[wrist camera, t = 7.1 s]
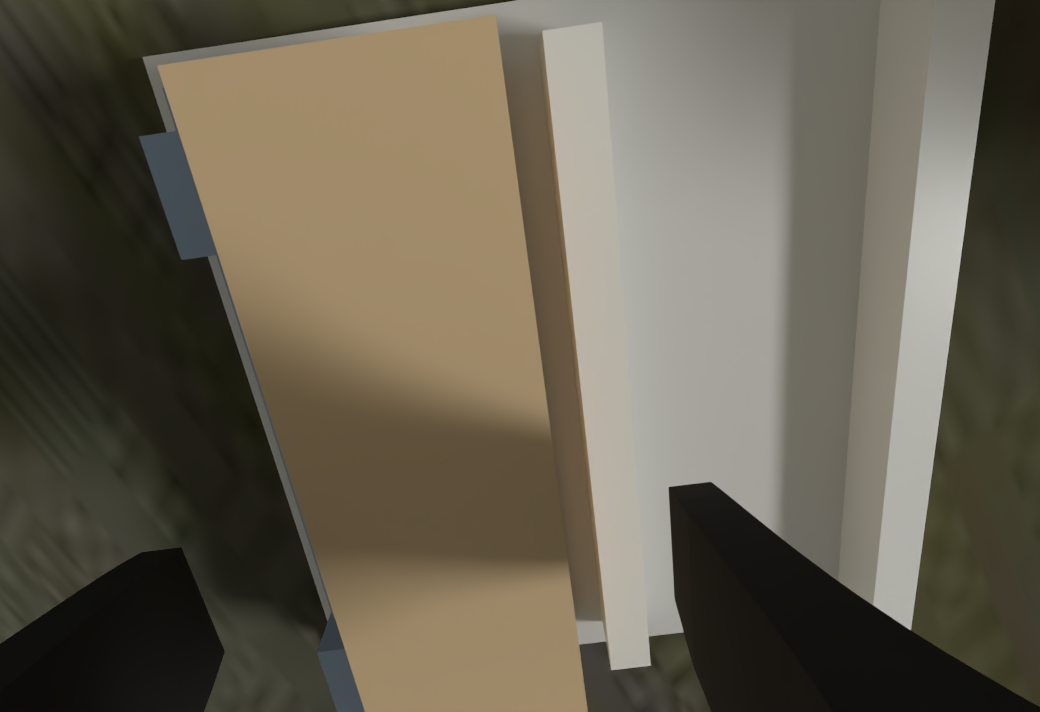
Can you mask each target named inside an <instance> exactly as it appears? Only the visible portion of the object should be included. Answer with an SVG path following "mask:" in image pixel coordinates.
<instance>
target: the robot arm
mask: <svg viewBox="0 0 1040 712" xmlns="http://www.w3.org/2000/svg"><path fill="white" fill-rule="evenodd" d="M669 505H670V524H671V542H672V560H673V579H674V597H675V602H676V606H677V609H678V613H679V616H680V620H681V624H682V627H683V631H684V635H685V638H686V641H687V645H688V648H689V652H690V655H691V659H692V662H693V666H694V669H695V671H696V674H697V676H698V679H699V681H700V684H701V686H702V689H703V691H704V694H705V696H706V699H707V701H708V704H709V706H710V709H711V711H712V712H1040V707H1039V706H1037V705H1035V704H1033V703H1031V702H1030V701H1028V700H1026V699H1024V698H1022V697H1021V696H1019V695H1017V694H1015V693H1014V692H1012V691H1010V690H1009V689H1007V688H1005V687H1003V686H1002V685H1000V684H998V683H997V682H995V681H993V680H992V679H990V678H988V677H986V676H985V675H983V674H981V673H980V672H978V671H976V670H975V669H973V668H971V667H970V666H968V665H966V664H964V663H963V662H961V661H959V660H958V659H956V658H954V657H953V656H951V655H949V654H947V653H946V652H944V651H942V650H941V649H939V648H938V647H936V646H935V645H933V644H931V643H930V642H928V641H927V640H925V639H923V638H922V637H920V636H919V635H917V634H915V633H914V632H912V631H911V630H909V629H908V628H906V627H905V626H903V625H902V624H900V623H899V622H897V621H896V620H894V619H893V618H891V617H890V616H888V615H887V614H885V613H884V612H882V611H881V610H879V609H878V608H876V607H875V606H873V605H872V604H870V603H869V602H867V601H866V600H864V599H863V598H862V597H860V596H859V595H857V594H856V593H854V592H853V591H851V590H850V589H849V588H847V587H846V586H844V585H843V584H842V583H840V582H839V581H837V580H836V579H835V578H833V577H832V576H830V575H829V574H828V573H826V572H825V571H824V570H822V569H821V568H820V567H818V566H817V565H816V564H814V563H813V562H812V561H810V560H809V559H808V558H806V557H805V556H804V555H802V554H801V553H800V552H798V551H797V550H796V549H795V548H793V547H792V546H791V545H789V544H788V543H787V542H786V541H784V540H783V539H782V538H780V537H779V536H778V535H777V534H775V533H774V532H773V531H772V530H770V529H769V528H768V527H767V526H765V525H764V524H763V523H762V522H760V521H759V520H758V519H757V518H755V517H754V516H753V515H752V514H751V513H749V512H748V511H747V510H746V509H744V508H743V507H742V506H741V505H739V504H738V503H737V502H736V501H735V500H733V499H732V498H731V497H730V496H728V495H727V494H726V493H725V492H723V491H722V490H721V489H720V488H718V487H717V486H716V485H715V484H713V483H712V482H705V483H697V484H689V485H681V486H673V487H669ZM223 655H224V649H223V647H222V644H221V642H220V640H219V637H218V635H217V632H216V630H215V627H214V625H213V623H212V620H211V618H210V615H209V613H208V611H207V608H206V606H205V603H204V601H203V598H202V596H201V594H200V591H199V589H198V586H197V584H196V582H195V579H194V577H193V574H192V572H191V569H190V567H189V565H188V562H187V560H186V557H185V555H184V553H183V550H182V548H173V549H165V550H157V551H149V552H141V553H140V554H138V555H136V556H134V557H133V558H131V559H129V560H127V561H125V562H124V563H122V564H120V565H119V566H117V567H115V568H114V569H112V570H110V571H109V572H107V573H106V574H104V575H103V576H101V577H99V578H98V579H96V580H95V581H93V582H92V583H90V584H89V585H87V586H86V587H84V588H83V589H81V590H80V591H78V592H77V593H75V594H74V595H72V596H71V597H69V598H68V599H66V600H65V601H63V602H62V603H60V604H59V605H57V606H56V607H54V608H53V609H51V610H50V611H48V612H47V613H45V614H44V615H42V616H41V617H39V618H38V619H36V620H35V621H34V622H32V623H31V624H29V625H28V626H26V627H25V628H23V629H22V630H20V631H19V632H17V633H16V634H14V635H13V636H11V637H10V638H8V639H7V640H5V641H4V642H2V643H1V644H0V712H204V710H205V707H206V704H207V702H208V699H209V696H210V694H211V691H212V688H213V685H214V682H215V679H216V676H217V673H218V670H219V667H220V664H221V661H222V658H223Z"/></svg>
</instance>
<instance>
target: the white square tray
mask: <svg viewBox="0 0 1040 712" xmlns="http://www.w3.org/2000/svg"><path fill="white" fill-rule="evenodd" d="M994 6H995V0H516V1H510V2H503V3H496V4H490V5H483V6H477V7H470V8H463V9H457V10H450V11H444V12H437V13H430V14H424V15H417V16H411V17H404V18H397V19H391V20H384V21H378V22H371V23H365V24H358V25H351V26H345V27H338V28H332V29H325V30H318V31H312V32H305V33H299V34H292V35H285V36H279V37H272V38H266V39H259V40H252V41H246V42H239V43H233V44H226V45H219V46H213V47H206V48H200V49H193V50H186V51H180V52H173V53H167V54H160V55H153V56H147V57H142V58H143V61H144V64H145V67H146V70H147V73H148V76H149V79H150V82H151V85H152V88H153V91H154V94H155V97H156V100H157V104H158V107H159V110H160V113H161V116H162V119H163V122H164V125H165V128H166V131H167V132H166V133H159V134H152V135H146V136H139V139H140V142H141V145H142V148H143V150H144V153H145V156H146V159H147V162H148V165H149V168H150V171H151V174H152V177H153V179H154V182H155V185H156V188H157V191H158V194H159V197H160V200H161V203H162V206H163V208H164V211H165V214H166V217H167V220H168V223H169V226H170V229H171V232H172V234H173V237H174V240H175V243H176V246H177V249H178V252H179V255H180V258H181V260H186V259H193V258H200V257H207V256H208V259H209V262H210V265H211V268H212V271H213V274H214V277H215V280H216V283H217V286H218V289H219V292H220V296H221V299H222V302H223V305H224V308H225V311H226V314H227V317H228V320H229V323H230V326H231V329H232V332H233V335H234V338H235V341H236V344H237V347H238V350H239V353H240V356H241V359H242V363H243V366H244V369H245V372H246V375H247V378H248V381H249V384H250V387H251V390H252V393H253V396H254V399H255V402H256V405H257V408H258V411H259V414H260V417H261V420H262V423H263V427H264V430H265V433H266V436H267V439H268V442H269V445H270V448H271V451H272V454H273V457H274V460H275V463H276V466H277V469H278V472H279V475H280V478H281V481H282V484H283V487H284V491H285V494H286V497H287V500H288V503H289V506H290V509H291V512H292V515H293V518H294V521H295V524H296V527H297V530H298V533H299V536H300V539H301V542H302V545H303V548H304V551H305V555H306V558H307V561H308V564H309V567H310V570H311V573H312V576H313V579H314V582H315V585H316V588H317V591H318V594H319V597H320V600H321V603H322V606H323V609H324V612H325V615H326V618H327V625H326V628H325V631H324V633H323V636H322V639H321V642H320V645H319V647H318V650H317V655H318V658H319V660H320V663H321V666H322V669H323V672H324V675H325V678H326V681H327V684H328V686H329V689H330V692H331V695H332V698H333V701H334V704H335V707H336V710H337V712H365V710H364V707H363V704H362V701H361V698H360V695H359V692H358V688H357V685H356V682H355V679H354V676H353V673H352V670H351V667H350V664H349V660H348V657H347V654H346V651H345V648H344V645H343V642H342V639H341V636H340V632H339V629H338V626H337V623H336V620H335V617H334V614H333V611H332V608H331V604H330V601H329V598H328V595H327V592H326V589H325V586H324V583H323V580H322V577H321V573H320V570H319V567H318V564H317V561H316V558H315V555H314V552H313V549H312V545H311V542H310V539H309V536H308V533H307V530H306V527H305V524H304V521H303V517H302V514H301V511H300V508H299V505H298V502H297V499H296V496H295V493H294V489H293V486H292V483H291V480H290V477H289V474H288V471H287V468H286V465H285V462H284V458H283V455H282V452H281V449H280V446H279V443H278V440H277V437H276V434H275V430H274V427H273V424H272V421H271V418H270V415H269V412H268V409H267V406H266V402H265V399H264V396H263V393H262V390H261V387H260V384H259V381H258V378H257V374H256V371H255V368H254V365H253V362H252V359H251V356H250V353H249V350H248V347H247V343H246V340H245V337H244V334H243V331H242V328H241V325H240V322H239V319H238V315H237V312H236V309H235V306H234V303H233V300H232V297H231V294H230V291H229V287H228V284H227V281H226V278H225V275H224V272H223V269H222V266H221V263H220V259H219V256H218V253H217V250H216V247H215V244H214V241H213V238H212V235H211V231H210V228H209V225H208V222H207V219H206V216H205V213H204V210H203V207H202V204H201V200H200V197H199V194H198V191H197V188H196V185H195V182H194V179H193V176H192V172H191V169H190V166H189V163H188V160H187V157H186V154H185V151H184V148H183V144H182V141H181V138H180V135H179V132H178V129H177V126H176V123H175V120H174V116H173V113H172V110H171V107H170V104H169V101H168V98H167V95H166V92H165V89H164V85H163V82H162V79H161V76H160V73H159V70H158V67H157V66H158V65H165V64H171V63H178V62H185V61H191V60H198V59H204V58H211V57H218V56H224V55H231V54H237V53H244V52H251V51H257V50H264V49H271V48H277V47H284V46H290V45H297V44H304V43H310V42H317V41H323V40H330V39H337V38H343V37H350V36H356V35H363V34H370V33H376V32H383V31H390V30H396V29H403V28H409V27H416V26H423V25H429V24H436V23H442V22H449V21H456V20H462V19H469V18H475V17H482V16H489V15H495V14H496V20H497V28H498V35H499V43H500V50H501V58H502V66H503V73H504V81H505V88H506V96H507V103H508V111H509V119H510V126H511V134H512V141H513V149H514V156H515V164H516V172H517V179H518V187H519V194H520V202H521V210H522V217H523V225H524V232H525V240H526V247H527V255H528V263H529V270H530V278H531V285H532V293H533V300H534V308H535V316H536V323H537V331H538V338H539V346H540V353H541V361H542V369H543V376H544V384H545V391H546V399H547V407H548V414H549V422H550V429H551V437H552V444H553V452H554V460H555V467H556V475H557V482H558V490H559V497H560V505H561V513H562V520H563V528H564V535H565V543H566V551H567V558H568V566H569V573H570V581H571V588H572V596H573V604H574V611H575V619H576V626H577V634H578V641H579V644H587V643H596V642H604V641H606V645H607V650H608V655H609V661H610V666H611V670H617V669H626V668H634V667H643V666H651V664H650V651H649V638H648V636H655V635H664V634H672V633H681V632H684V631H683V627H682V624H681V620H680V616H679V613H678V609H677V606H676V602H675V597H674V579H673V560H672V542H671V524H670V505H669V487H673V486H681V485H689V484H697V483H705V482H712V483H713V484H715V485H716V486H717V487H718V488H720V489H721V490H722V491H723V492H725V493H726V494H727V495H728V496H730V497H731V498H732V499H733V500H735V501H736V502H737V503H738V504H739V505H741V506H742V507H743V508H744V509H746V510H747V511H748V512H749V513H751V514H752V515H753V516H754V517H755V518H757V519H758V520H759V521H760V522H762V523H763V524H764V525H765V526H767V527H768V528H769V529H770V530H772V531H773V532H774V533H775V534H777V535H778V536H779V537H780V538H782V539H783V540H784V541H786V542H787V543H788V544H789V545H791V546H792V547H793V548H795V549H796V550H797V551H798V552H800V553H801V554H802V555H804V556H805V557H806V558H808V559H809V560H810V561H812V562H813V563H814V564H816V565H817V566H818V567H820V568H821V569H822V570H824V571H825V572H826V573H828V574H829V575H830V576H832V577H833V578H835V579H836V580H837V581H839V582H840V583H842V584H843V585H844V586H846V587H847V588H849V589H850V590H851V591H853V592H854V593H856V594H857V595H859V596H860V597H862V598H863V599H864V600H866V601H867V602H869V603H870V604H872V605H873V606H875V607H876V608H878V609H879V610H881V611H882V612H884V613H885V614H887V615H888V616H890V617H891V618H893V619H894V620H896V621H897V622H899V623H900V624H902V625H903V626H905V627H906V628H908V629H909V630H911V625H912V618H913V610H914V603H915V595H916V588H917V580H918V573H919V565H920V558H921V550H922V543H923V535H924V528H925V521H926V513H927V506H928V498H929V491H930V483H931V476H932V468H933V461H934V453H935V446H936V439H937V431H938V424H939V416H940V409H941V401H942V394H943V386H944V379H945V371H946V364H947V357H948V349H949V342H950V334H951V327H952V319H953V312H954V304H955V297H956V289H957V282H958V275H959V267H960V260H961V252H962V245H963V237H964V230H965V222H966V215H967V207H968V200H969V192H970V185H971V178H972V170H973V163H974V155H975V148H976V140H977V133H978V125H979V118H980V110H981V103H982V96H983V88H984V81H985V73H986V66H987V58H988V51H989V43H990V36H991V28H992V21H993V14H994Z"/></svg>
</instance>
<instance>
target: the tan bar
mask: <svg viewBox="0 0 1040 712" xmlns="http://www.w3.org/2000/svg"><path fill="white" fill-rule="evenodd" d="M157 67H158V70H159V73H160V76H161V79H162V82H163V85H164V89H165V92H166V95H167V98H168V101H169V104H170V107H171V110H172V113H173V116H174V120H175V123H176V126H177V129H178V132H179V135H180V138H181V141H182V144H183V148H184V151H185V154H186V157H187V160H188V163H189V166H190V169H191V172H192V176H193V179H194V182H195V185H196V188H197V191H198V194H199V197H200V200H201V204H202V207H203V210H204V213H205V216H206V219H207V222H208V225H209V228H210V231H211V235H212V238H213V241H214V244H215V247H216V250H217V253H218V256H219V259H220V263H221V266H222V269H223V272H224V275H225V278H226V281H227V284H228V287H229V291H230V294H231V297H232V300H233V303H234V306H235V309H236V312H237V315H238V319H239V322H240V325H241V328H242V331H243V334H244V337H245V340H246V343H247V347H248V350H249V353H250V356H251V359H252V362H253V365H254V368H255V371H256V374H257V378H258V381H259V384H260V387H261V390H262V393H263V396H264V399H265V402H266V406H267V409H268V412H269V415H270V418H271V421H272V424H273V427H274V430H275V434H276V437H277V440H278V443H279V446H280V449H281V452H282V455H283V458H284V462H285V465H286V468H287V471H288V474H289V477H290V480H291V483H292V486H293V489H294V493H295V496H296V499H297V502H298V505H299V508H300V511H301V514H302V517H303V521H304V524H305V527H306V530H307V533H308V536H309V539H310V542H311V545H312V549H313V552H314V555H315V558H316V561H317V564H318V567H319V570H320V573H321V577H322V580H323V583H324V586H325V589H326V592H327V595H328V598H329V601H330V604H331V608H332V611H333V614H334V617H335V620H336V623H337V626H338V629H339V632H340V636H341V639H342V642H343V645H344V648H345V651H346V654H347V657H348V660H349V664H350V667H351V670H352V673H353V676H354V679H355V682H356V685H357V688H358V692H359V695H360V698H361V701H362V704H363V707H364V710H365V712H588V710H587V702H586V695H585V687H584V679H583V672H582V664H581V657H580V649H579V641H578V634H577V626H576V619H575V611H574V604H573V596H572V588H571V581H570V573H569V566H568V558H567V551H566V543H565V535H564V528H563V520H562V513H561V505H560V497H559V490H558V482H557V475H556V467H555V460H554V452H553V444H552V437H551V429H550V422H549V414H548V407H547V399H546V391H545V384H544V376H543V369H542V361H541V353H540V346H539V338H538V331H537V323H536V316H535V308H534V300H533V293H532V285H531V278H530V270H529V263H528V255H527V247H526V240H525V232H524V225H523V217H522V210H521V202H520V194H519V187H518V179H517V172H516V164H515V156H514V149H513V141H512V134H511V126H510V119H509V111H508V103H507V96H506V88H505V81H504V73H503V66H502V58H501V50H500V43H499V35H498V28H497V20H496V14H495V15H489V16H482V17H475V18H469V19H462V20H456V21H449V22H442V23H436V24H429V25H423V26H416V27H409V28H403V29H396V30H390V31H383V32H376V33H370V34H363V35H356V36H350V37H343V38H337V39H330V40H323V41H317V42H310V43H304V44H297V45H290V46H284V47H277V48H271V49H264V50H257V51H251V52H244V53H237V54H231V55H224V56H218V57H211V58H204V59H198V60H191V61H185V62H178V63H171V64H165V65H158V66H157Z"/></svg>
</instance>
